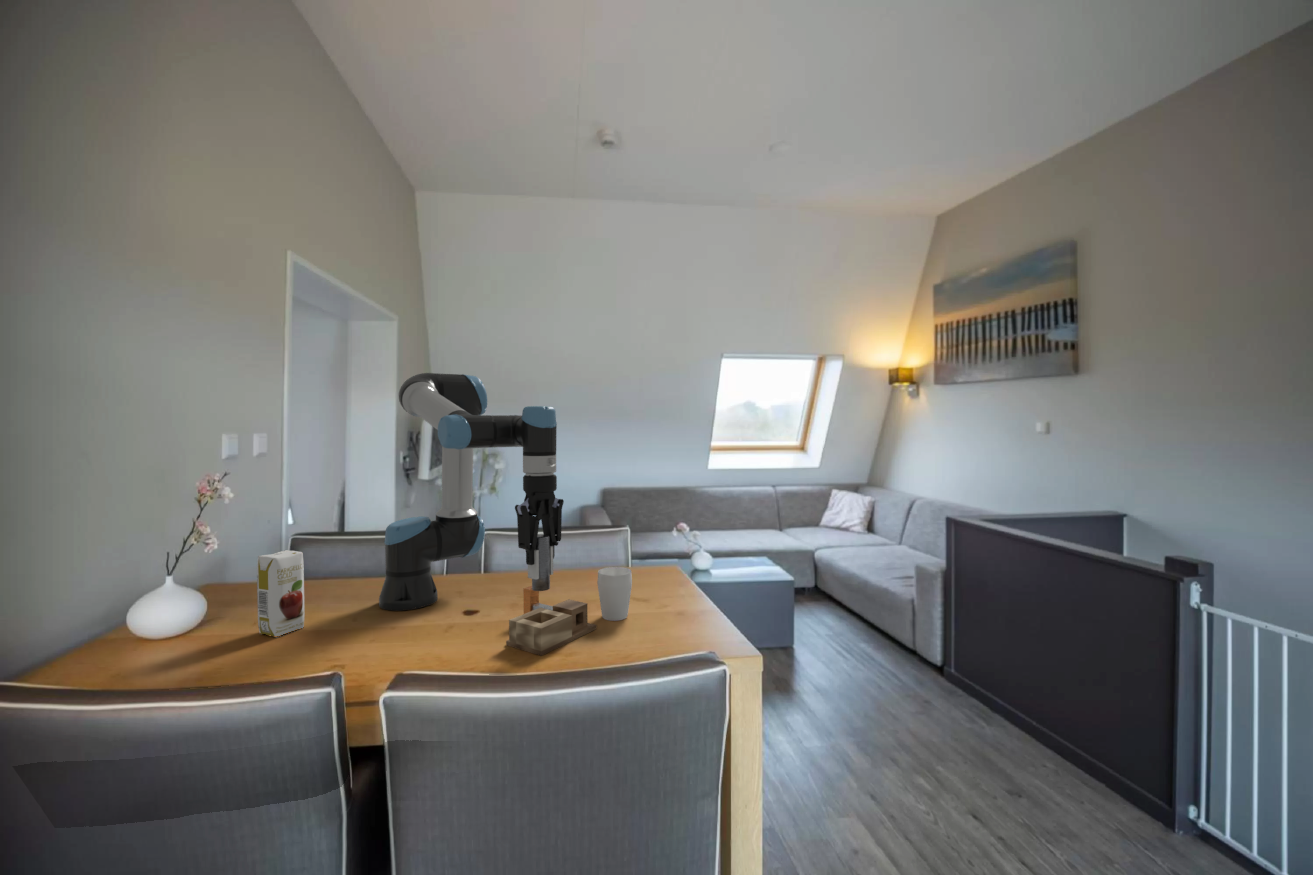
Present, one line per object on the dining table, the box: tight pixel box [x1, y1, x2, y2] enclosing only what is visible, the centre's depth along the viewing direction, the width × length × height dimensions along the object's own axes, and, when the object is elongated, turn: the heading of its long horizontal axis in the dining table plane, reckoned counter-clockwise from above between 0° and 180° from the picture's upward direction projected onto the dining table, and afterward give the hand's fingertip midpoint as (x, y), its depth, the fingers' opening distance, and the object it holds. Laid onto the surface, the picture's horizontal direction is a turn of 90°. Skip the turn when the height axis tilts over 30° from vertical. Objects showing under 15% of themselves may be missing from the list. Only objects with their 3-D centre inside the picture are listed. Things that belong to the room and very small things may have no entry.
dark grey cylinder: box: [531, 534, 551, 592], centre depth 130 cm, size 4×4×12 cm
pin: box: [522, 585, 553, 614], centre depth 142 cm, size 14×3×8 cm, turn 57°
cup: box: [596, 566, 633, 622], centre depth 148 cm, size 9×9×12 cm
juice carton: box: [256, 549, 306, 637], centre depth 138 cm, size 8×9×19 cm
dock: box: [505, 598, 597, 656], centre depth 135 cm, size 11×19×6 cm, turn 147°
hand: (540, 575), depth 130 cm, fingers closed on dark grey cylinder, 4 cm apart
